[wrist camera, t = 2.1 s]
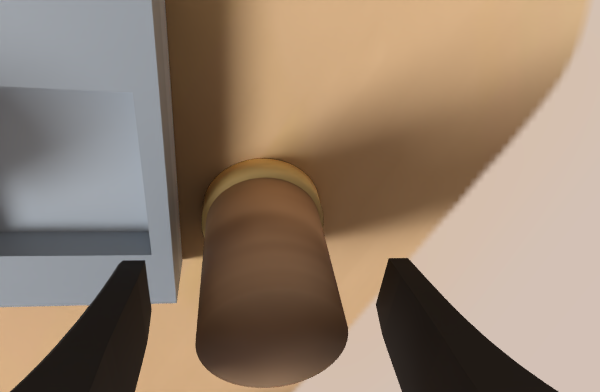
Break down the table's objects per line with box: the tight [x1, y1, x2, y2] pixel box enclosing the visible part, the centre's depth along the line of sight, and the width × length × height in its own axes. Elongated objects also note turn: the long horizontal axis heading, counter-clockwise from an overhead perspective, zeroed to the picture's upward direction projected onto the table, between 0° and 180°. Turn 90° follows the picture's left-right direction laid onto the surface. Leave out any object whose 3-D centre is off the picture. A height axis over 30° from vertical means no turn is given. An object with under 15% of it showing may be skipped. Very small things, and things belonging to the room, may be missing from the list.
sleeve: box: [196, 158, 348, 388], centre depth 14 cm, size 4×4×6 cm
